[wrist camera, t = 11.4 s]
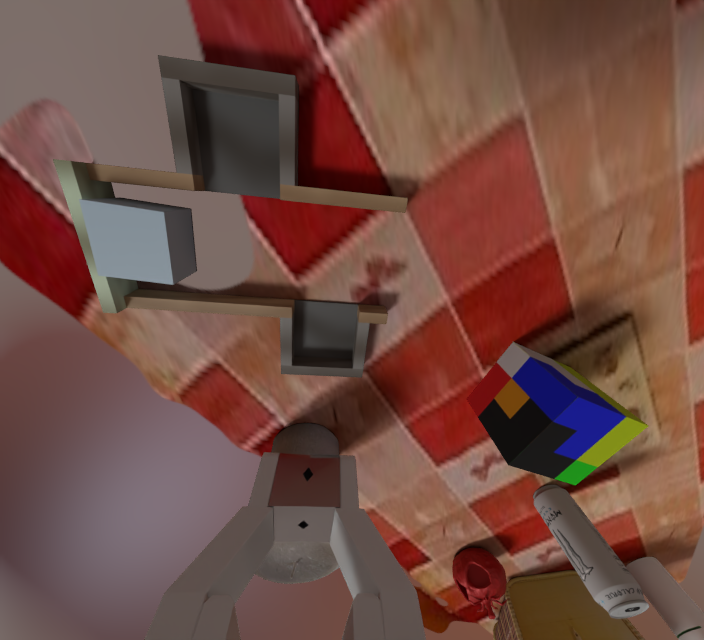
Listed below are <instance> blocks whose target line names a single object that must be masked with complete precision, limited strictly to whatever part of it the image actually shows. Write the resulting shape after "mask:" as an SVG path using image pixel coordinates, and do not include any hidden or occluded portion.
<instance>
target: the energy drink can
mask: <svg viewBox="0 0 704 640" xmlns="http://www.w3.org/2000/svg"><path fill="white" fill-rule="evenodd" d="M533 498H534V505H535V507H536V509H537V510H538V512H539V513H540V515H541V516H542V518H543V520H544V521H545V523H546V524H547V526H548V527H549V529H550V531H551V532H552V534H553V535H554V537H555V539H556V540H557V542H558V543H559V545H560V546H561V548H562V550H563V551H564V553H565V554H566V556H567V557H568V559H569V561H570V562H571V564H572V565H573V567H574V568H575V570H576V572H577V573H578V575H579V576H580V578H581V580H582V581H583V583H584V584H585V586H586V587H587V589H588V591H589V592H590V594H591V595H592V597H593V598H594V600H595V601H596V602H597V603H598V604H599V605H600V606H602V607H603V608H604V609H605V610H606V611H607V612H608V613H609V615H610V616H611V617H612V618H615V619H622V618H628V617H632V616H635V615H638V614H640V613H642V612H644V611H645V610H647V609H648V607H649V605H648V603H647V602H646V601H645V600H644V596H643V593H642V590H641V587H640V585H639V584H638V582H637V581H636V580H635V578H634V577H633V576H632V575H631V573H630V572H629V571H628V569H627V568H626V567H625V565H624V564H623V563H622V562H621V560H620V559H619V558H618V556H617V555H616V554H615V552H614V551H613V550H612V549H611V547H610V546H609V545H608V543H607V542H606V541H605V540H604V538H603V537H602V536H601V534H600V533H599V532H598V530H597V529H596V528H595V527H594V525H593V524H592V523H591V521H590V520H589V519H588V518H587V516H586V515H585V514H584V512H583V511H582V510H581V508H580V507H579V506H578V505H577V503H576V502H575V501H574V499H573V498H572V497H571V496H570V494H569V493H568V492H567V491H566V490H565V489H562V488H560V487H559V486H557V485H547V486H544V487H541V488H540V489H538V490H537V491H536V492H535V493H534V495H533Z"/></svg>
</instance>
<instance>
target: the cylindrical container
mask: <svg viewBox="0 0 704 640" xmlns="http://www.w3.org/2000/svg"><path fill="white" fill-rule="evenodd" d="M626 568H627V569H628V571H629V572H630V573H631V575H632V576H633V577H634V578H635V580H636V581H637V582H638V584H639V585H640V587H641V590H642V592H643V593H644V595H645V596H646V597H647V599H648V600H649V601H650V603H651V604H652V605H653V606H654V608H655V609H656V610H657V612H658V613H659V614H660V616H661V617H662V618H663V620H664V621H665V622H666V623H667V625H668V626H669V627H670V629H671V630H672V631H673V633H674V634H675V635H676V636H677V638H679V640H704V612H703V611H702V610H701V609H700V608H699V607H698V606H697V604H696V603H695V602H694V601H693V600H692V599H691V598H690V597H689V596H688V594H687V593H686V592H685V591H684V590H683V589H682V587H681V586H680V585H679V584H678V583H677V582H676V580H675V579H674V578H673V577H672V576H671V575H670V573H669V572H668V571H667V570H666V569H665V568H664V567H663V565H662V564H661V563H660V562H659V561H658V560H657V559H656V558H655V557H644V558H640V559H637V560H635V561H633V562H631V563H629V564H628V565H627V566H626Z"/></svg>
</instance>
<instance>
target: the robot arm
mask: <svg viewBox="0 0 704 640" xmlns="http://www.w3.org/2000/svg"><path fill="white" fill-rule="evenodd" d="M296 541H306V542H330V546H331V548H332V551H333V553H334V555H335V557H336V560H337V562H338V564H339V567H340V569H341V571H342V574H343V576H344V578H345V581H346V583H347V585H348V587H349V590H350V592H351V594H352V597H353V599H354V600H353V602H352V606H351V609H350V613H349V616H348V619H347V623H346V626H345V630H344V633H343V637H342V640H426V638H425V633H424V627H423V622H422V617H421V612H420V607H419V602H418V596H417V591H416V590H415V588H414V587H413V585H412V583H411V582H410V580H409V579H408V577H407V576H406V574H405V573H404V571H403V569H402V568H401V566H400V565H399V563H398V562H397V560H396V558H395V557H394V555H393V554H392V552H391V551H390V549H389V547H388V546H387V544H386V543H385V541H384V540H383V538H382V537H381V535H380V533H379V532H378V530H377V529H376V527H375V526H374V524H373V522H372V521H371V519H370V518H369V516H368V515H367V513H366V512H365V510H364V509H360V508H359V500H358V485H357V471H356V459H355V456H342V455H340V456H339V455H322V454H310V455H305V454H287V453H267V452H264V454H263V456H262V458H261V462H260V465H259V469H258V473H257V476H256V479H255V483H254V487H253V490H252V494H251V497H250V501H249V504H248V506H247V507H242V508H241V509H240V510H239V511H238V512H237V514H236V515H235V516H234V517H233V518H232V519H231V520H230V521H229V522H228V524H227V525H226V526H225V527H224V528H223V529H222V530H221V531H220V532H219V533H218V535H217V536H216V537H215V538H214V539H213V540H212V541H211V542H210V543H209V544H208V546H207V547H206V548H205V549H204V550H203V551H202V552H201V553H200V554H199V555H198V557H197V558H196V559H195V560H194V561H193V562H192V563H191V564H190V565H189V567H188V568H187V569H186V570H185V571H184V572H183V573H182V575H180V576H179V578H178V579H177V580H176V581H175V582H174V583H173V584H172V585H171V586H170V587H169V589H168V590H167V591H166V592H165V593H164V595H163V597H162V600H161V602H160V604H159V607H158V609H157V611H156V614H155V616H154V619H153V621H152V623H151V625H150V628H149V630H148V632H147V635H146V637H145V639H144V640H241V639H240V633H239V627H238V621H237V615H236V609H235V603H236V602H237V600H238V599H239V597H240V596H241V594H242V592H243V591H244V589H245V588H246V586H247V585H248V583H249V582H250V580H251V579H252V577H253V576H254V574H255V572H256V571H257V569H258V568H259V566H260V565H261V563H262V562H263V560H264V559H265V557H266V555H267V554H268V552H269V551H270V549H271V548H272V546H273V545H274V542H296Z"/></svg>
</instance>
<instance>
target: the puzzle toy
mask: <svg viewBox="0 0 704 640" xmlns="http://www.w3.org/2000/svg"><path fill="white" fill-rule="evenodd" d="M467 401H468V402H469V404H470V405H471V407H472V409H473V410H474V412H475V413H476V415H477V416H478V418H479V420H480V421H481V423H482V424H483V426H484V427H485V429H486V431H487V432H488V434H489V435H490V437H491V439H492V440H493V442H494V443H495V445H496V446H497V448H498V450H499V451H500V453H501V454H502V456H503V457H504V459H505V461H506V462H507V464H508V465H510V466H513V467H516V468H520V469H523V470H526V471H530V472H533V473H536V474H540V475H543V476H546V477H550V478H553V479H556V480H559V481H563V482H566V483H569V484H573V485H577V484H578V483H579V482H580V481H581V480H583V479H584V478H585V477H586V476H588V475H589V474H590V473H591V472H593V471H594V470H595V469H596V468H597V467H599V466H600V465H601V464H602V463H604V462H605V461H606V460H607V459H609V458H610V457H611V456H612V455H614V454H615V453H616V452H617V451H618V450H620V449H621V448H622V447H623V446H625V445H626V444H627V443H628V442H630V441H631V440H632V439H633V438H634V437H636V436H637V435H638V434H639V433H641V432H642V431H643V430H644V429H646V428H647V427H648V425H647V424H645V423H644V422H643V421H641V420H640V419H639V418H637V417H636V416H635V415H633V414H632V413H631V412H629V411H628V410H627V409H625V408H624V407H623V406H621V405H620V404H619V403H617V402H616V401H615V400H613V399H612V398H611V397H609V396H608V395H607V394H605V393H604V392H603V391H601V390H600V389H599V388H597V387H596V386H595V385H593V384H592V383H591V382H589V381H588V380H587V379H585V378H584V377H583V376H581V375H580V374H579V373H577V372H576V371H575V370H573V369H572V368H571V367H569V366H566V365H564V364H562V363H560V362H557V361H555V360H553V359H551V358H548V357H546V356H544V355H542V354H539V353H537V352H535V351H533V350H530V349H528V348H526V347H524V346H521V345H519V344H517V343H515V342H513V343H512V344H511V345H510V346H509V348H508V349H507V350H506V351H505V352H504V354H503V355H502V356H501V357H500V359H499V360H498V361H497V362H496V364H495V365H494V366H493V367H492V368H491V370H490V371H489V372H488V373H487V375H486V376H485V377H484V378H483V379H482V381H481V382H480V383H479V384H478V386H477V387H476V388H475V389H474V391H473V392H472V393H471V394H470V395H469V397H468V398H467Z"/></svg>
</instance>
